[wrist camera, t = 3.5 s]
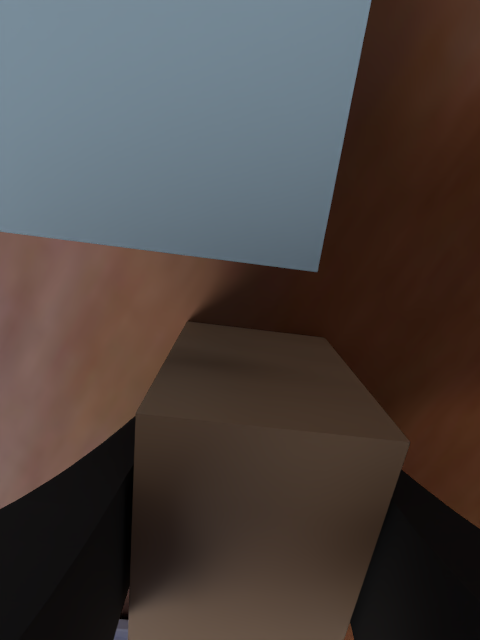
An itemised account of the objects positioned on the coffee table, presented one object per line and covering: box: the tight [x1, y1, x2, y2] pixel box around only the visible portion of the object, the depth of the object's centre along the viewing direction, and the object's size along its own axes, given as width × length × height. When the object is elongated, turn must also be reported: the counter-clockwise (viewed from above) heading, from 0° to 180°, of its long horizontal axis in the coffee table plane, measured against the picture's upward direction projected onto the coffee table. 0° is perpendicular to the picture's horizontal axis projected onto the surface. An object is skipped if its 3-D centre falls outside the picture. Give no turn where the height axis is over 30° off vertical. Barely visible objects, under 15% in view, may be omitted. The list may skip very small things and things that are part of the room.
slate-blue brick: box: [0, 0, 371, 272], centre depth 6 cm, size 6×4×5 cm
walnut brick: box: [128, 321, 410, 640], centre depth 8 cm, size 6×4×5 cm
